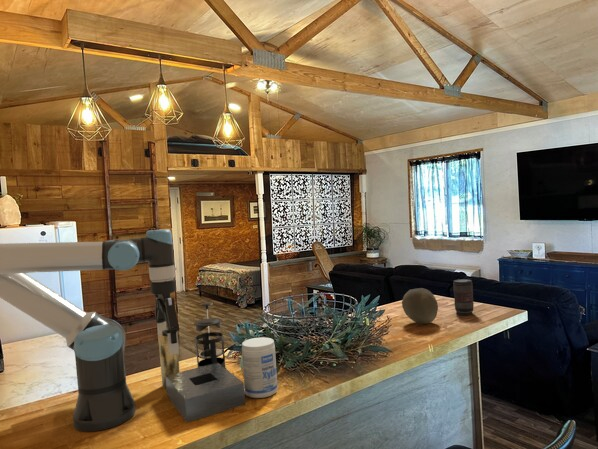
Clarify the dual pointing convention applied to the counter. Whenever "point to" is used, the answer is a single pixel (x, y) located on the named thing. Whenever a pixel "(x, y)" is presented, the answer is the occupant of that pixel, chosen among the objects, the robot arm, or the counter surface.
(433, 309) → the cantaloupe
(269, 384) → the supplement tub
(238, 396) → the housing
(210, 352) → the french press
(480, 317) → the counter surface
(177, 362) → the end plug
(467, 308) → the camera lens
